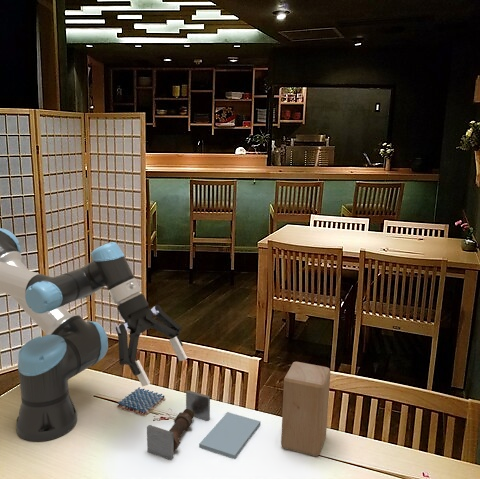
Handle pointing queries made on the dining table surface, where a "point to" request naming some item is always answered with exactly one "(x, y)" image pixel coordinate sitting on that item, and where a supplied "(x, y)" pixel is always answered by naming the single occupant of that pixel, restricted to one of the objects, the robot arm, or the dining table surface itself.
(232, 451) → the slate pad
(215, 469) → the dining table surface
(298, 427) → the wooden block
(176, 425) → the bolt
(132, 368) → the robot arm
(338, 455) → the dining table surface
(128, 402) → the woven mat
